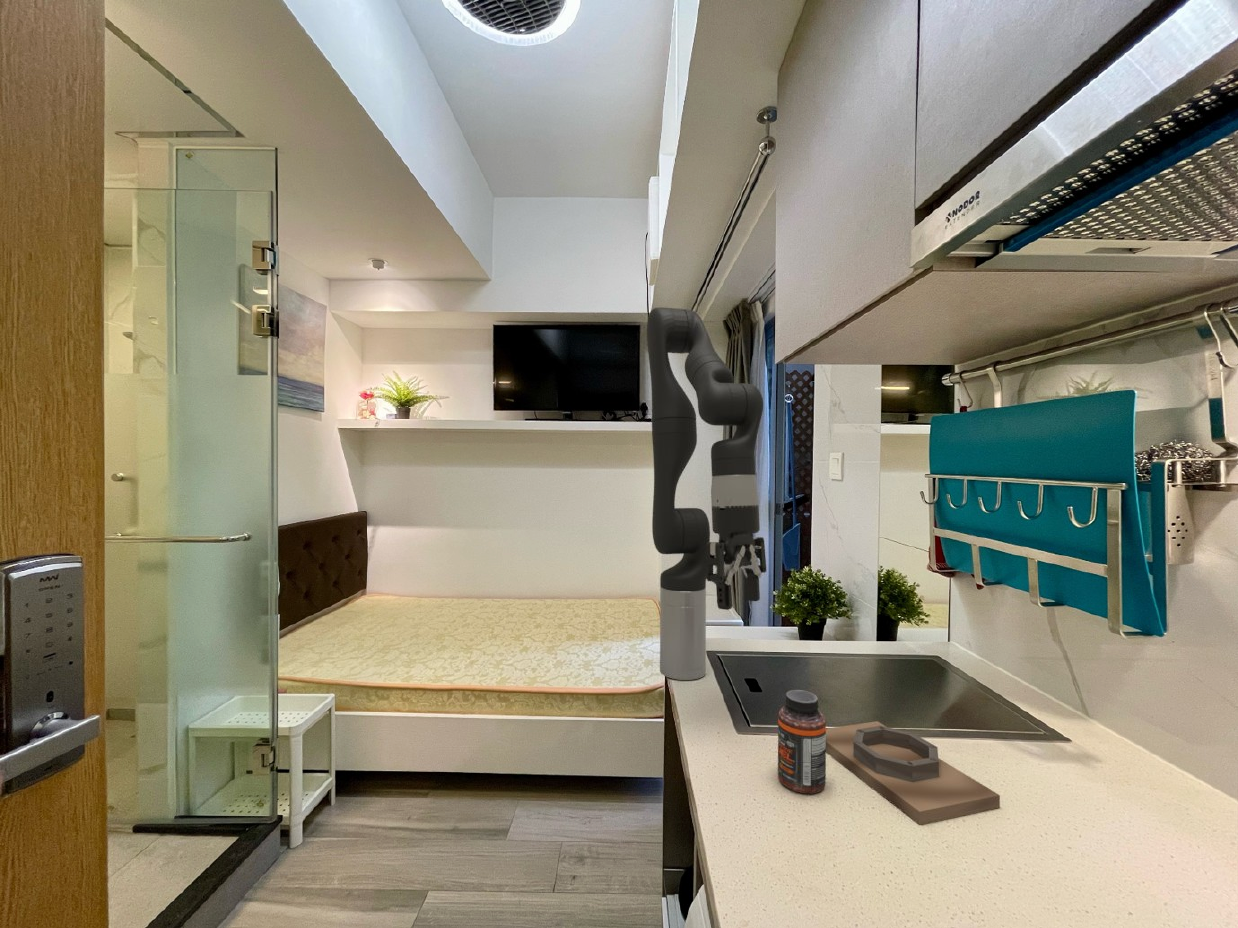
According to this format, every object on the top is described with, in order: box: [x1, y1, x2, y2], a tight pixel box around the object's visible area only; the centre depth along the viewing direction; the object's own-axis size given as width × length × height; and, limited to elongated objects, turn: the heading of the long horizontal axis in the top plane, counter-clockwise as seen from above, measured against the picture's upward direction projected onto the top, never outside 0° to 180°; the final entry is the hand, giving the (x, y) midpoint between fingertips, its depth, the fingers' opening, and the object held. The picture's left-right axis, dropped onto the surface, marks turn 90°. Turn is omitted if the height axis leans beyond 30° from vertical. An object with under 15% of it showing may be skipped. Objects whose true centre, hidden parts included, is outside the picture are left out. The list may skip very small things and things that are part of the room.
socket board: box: [826, 720, 1001, 826], centre depth 72 cm, size 20×12×4 cm, turn 16°
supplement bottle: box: [777, 689, 827, 794], centre depth 70 cm, size 6×6×11 cm
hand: (739, 604), depth 86 cm, fingers open, 8 cm apart
